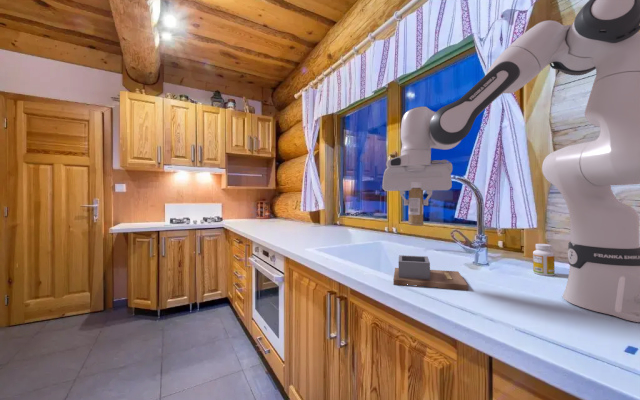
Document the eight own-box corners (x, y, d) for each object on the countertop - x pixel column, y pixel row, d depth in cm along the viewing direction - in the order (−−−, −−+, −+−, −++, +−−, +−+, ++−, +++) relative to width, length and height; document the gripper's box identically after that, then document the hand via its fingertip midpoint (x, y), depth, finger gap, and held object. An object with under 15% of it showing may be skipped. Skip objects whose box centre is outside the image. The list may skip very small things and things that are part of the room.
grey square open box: (427, 271, 88) (427, 256, 88) (430, 279, 80) (429, 263, 80) (399, 269, 91) (399, 255, 91) (398, 277, 82) (398, 261, 82)
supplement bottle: (552, 273, 89) (552, 243, 89) (556, 277, 84) (555, 246, 84) (532, 270, 92) (531, 242, 92) (534, 274, 87) (534, 245, 87)
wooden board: (458, 275, 88) (458, 270, 88) (467, 290, 74) (467, 283, 74) (395, 271, 94) (395, 266, 94) (393, 284, 80) (393, 278, 80)
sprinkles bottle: (426, 225, 82) (426, 181, 82) (417, 226, 80) (417, 181, 80) (414, 224, 86) (414, 182, 86) (404, 224, 84) (405, 182, 84)
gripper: (450, 160, 83) (450, 205, 83) (383, 163, 89) (383, 205, 89) (454, 157, 77) (454, 205, 77) (381, 161, 83) (382, 205, 83)
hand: (415, 205), depth 83 cm, fingers closed on sprinkles bottle, 4 cm apart
